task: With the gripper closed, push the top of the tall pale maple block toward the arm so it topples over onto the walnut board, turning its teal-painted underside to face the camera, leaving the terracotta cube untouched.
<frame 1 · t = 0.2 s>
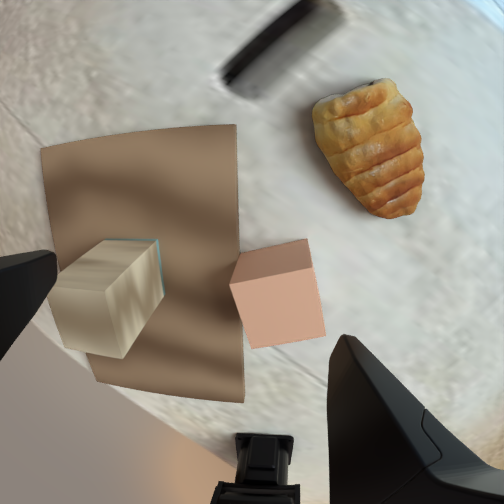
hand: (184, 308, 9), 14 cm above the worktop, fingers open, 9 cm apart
walnut board: (144, 282, 25), on the worktop
pastry: (369, 141, 20), on the worktop
terracotta cube: (281, 276, 24), on the worktop
maple block: (135, 266, 23), point 1 cm above the worktop, touching walnut board
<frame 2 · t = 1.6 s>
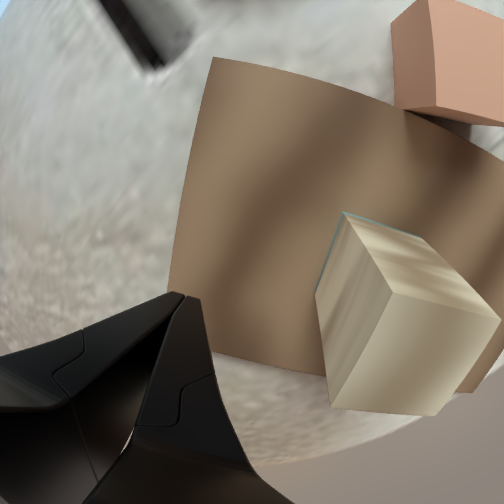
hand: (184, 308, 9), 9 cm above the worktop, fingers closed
walnut board: (393, 263, 17), on the worktop
terracotta cube: (434, 73, 13), on the worktop
maple block: (367, 264, 16), point 1 cm above the worktop, touching walnut board
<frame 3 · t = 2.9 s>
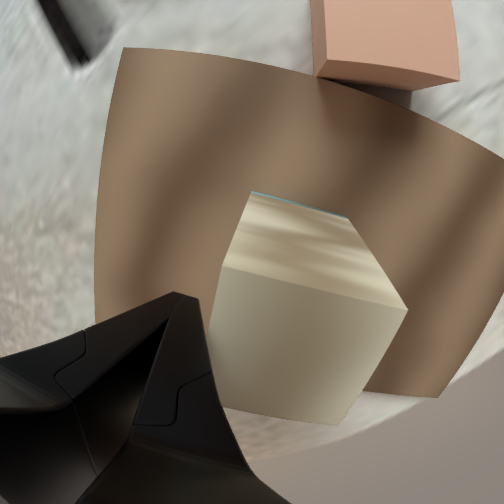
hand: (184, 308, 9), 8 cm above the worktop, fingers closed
walnut board: (323, 249, 16), on the worktop
terracotta cube: (362, 38, 12), on the worktop
maple block: (286, 248, 15), point 1 cm above the worktop, touching gripper, walnut board
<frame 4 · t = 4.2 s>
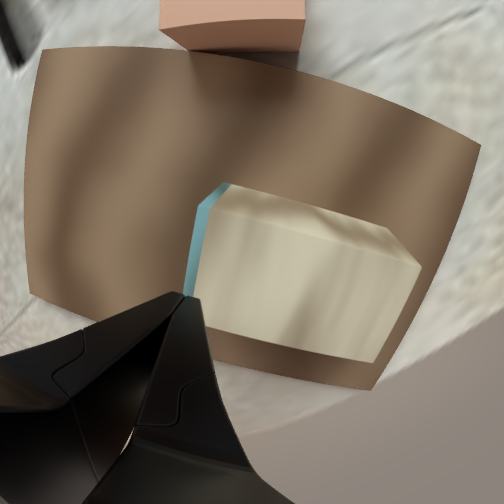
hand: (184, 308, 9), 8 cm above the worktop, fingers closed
walnut board: (213, 219, 16), on the worktop
terracotta cube: (245, 8, 12), on the worktop
maple block: (202, 244, 13), point 3 cm above the worktop, tilted 90°, touching walnut board
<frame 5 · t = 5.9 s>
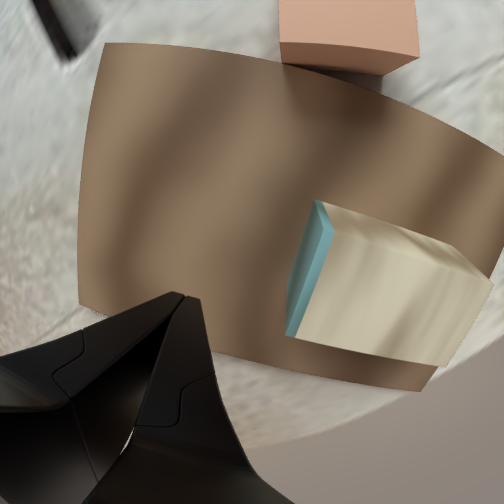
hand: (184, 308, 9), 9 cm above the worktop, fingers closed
walnut board: (294, 233, 17), on the worktop
terracotta cube: (332, 25, 12), on the worktop
maple block: (301, 261, 13), point 3 cm above the worktop, tilted 90°, touching walnut board
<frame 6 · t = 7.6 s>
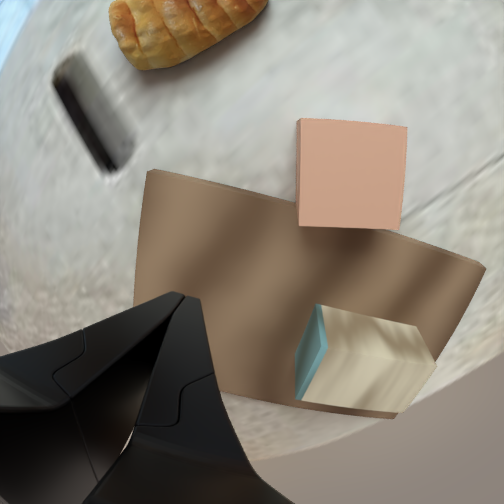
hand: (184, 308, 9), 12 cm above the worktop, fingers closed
walnut board: (300, 319, 23), on the worktop
pastry: (185, 15, 16), on the worktop
terracotta cube: (337, 163, 18), on the worktop
maple block: (306, 350, 19), point 3 cm above the worktop, tilted 90°, touching walnut board
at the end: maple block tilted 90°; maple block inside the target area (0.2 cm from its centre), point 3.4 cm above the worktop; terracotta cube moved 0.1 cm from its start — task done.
